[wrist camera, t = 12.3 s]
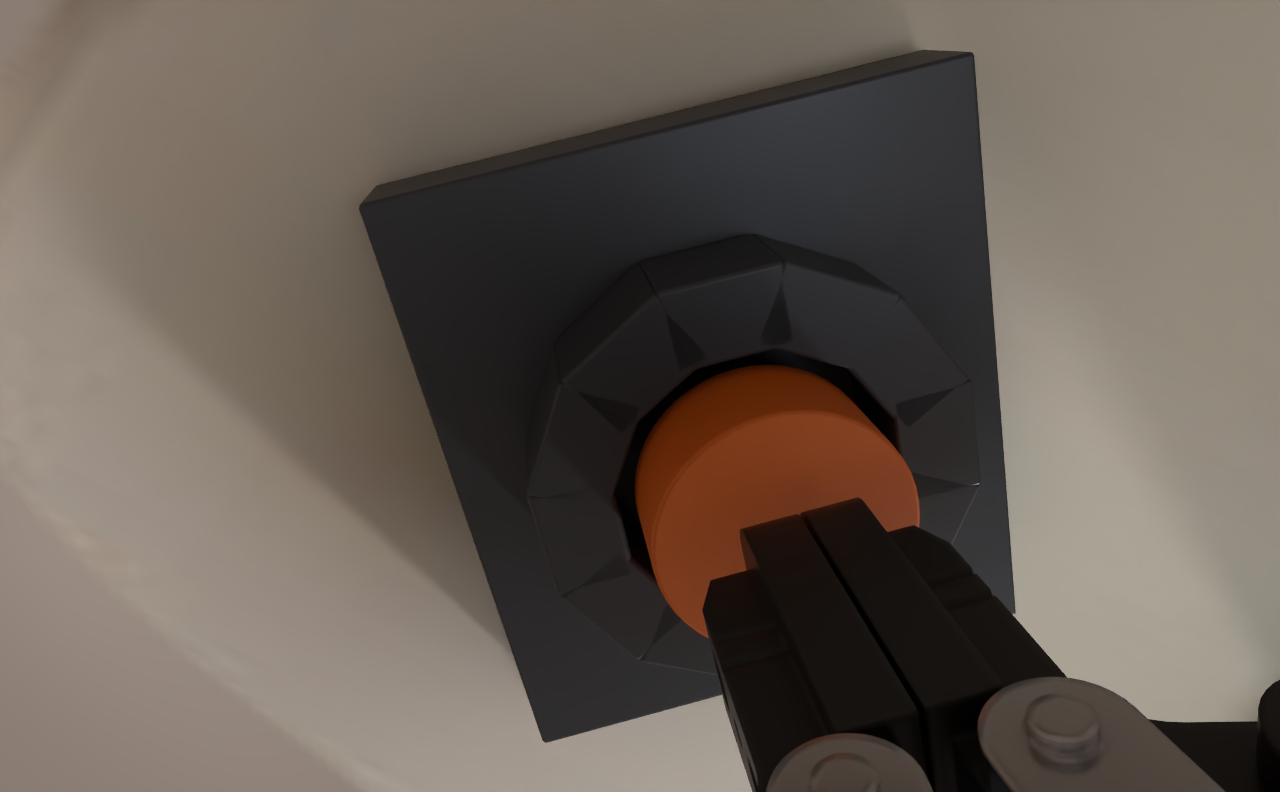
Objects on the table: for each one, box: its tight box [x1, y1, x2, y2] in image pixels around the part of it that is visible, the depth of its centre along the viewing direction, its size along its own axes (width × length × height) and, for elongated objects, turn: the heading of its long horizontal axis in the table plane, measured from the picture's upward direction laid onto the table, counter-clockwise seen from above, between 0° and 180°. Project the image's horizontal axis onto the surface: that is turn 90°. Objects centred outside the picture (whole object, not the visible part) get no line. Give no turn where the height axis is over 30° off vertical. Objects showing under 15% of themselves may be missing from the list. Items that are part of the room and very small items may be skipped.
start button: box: [635, 365, 920, 638], centre depth 13 cm, size 4×4×2 cm
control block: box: [359, 50, 1015, 743], centre depth 15 cm, size 10×9×4 cm
